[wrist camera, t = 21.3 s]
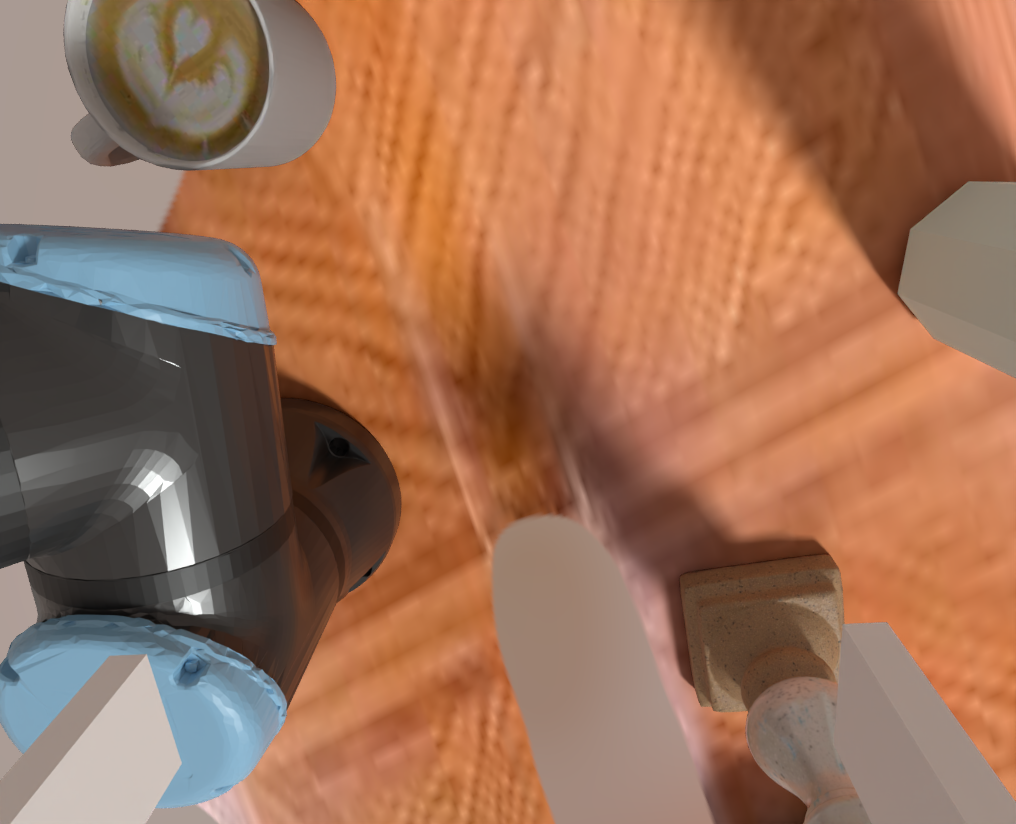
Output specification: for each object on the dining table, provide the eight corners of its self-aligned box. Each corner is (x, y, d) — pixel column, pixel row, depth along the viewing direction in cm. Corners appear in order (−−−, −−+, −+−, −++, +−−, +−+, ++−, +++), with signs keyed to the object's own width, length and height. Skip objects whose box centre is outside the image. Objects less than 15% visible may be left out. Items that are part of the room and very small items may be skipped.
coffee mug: (294, -46, 40) (214, -107, 31) (362, 134, 43) (309, 129, 34) (90, 41, 42) (-42, 9, 33) (169, 207, 45) (69, 221, 36)
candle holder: (832, 551, 51) (1053, 866, 28) (839, 675, 54) (1041, 1041, 32) (677, 573, 52) (773, 890, 30) (694, 692, 56) (790, 1055, 33)
